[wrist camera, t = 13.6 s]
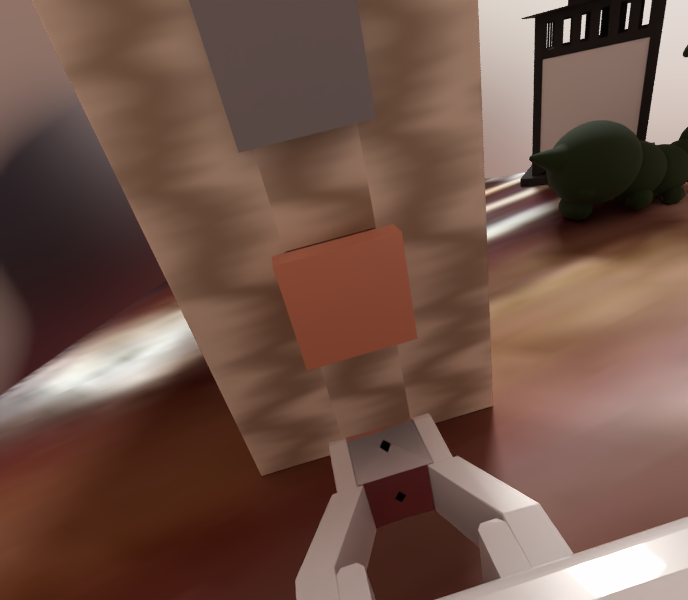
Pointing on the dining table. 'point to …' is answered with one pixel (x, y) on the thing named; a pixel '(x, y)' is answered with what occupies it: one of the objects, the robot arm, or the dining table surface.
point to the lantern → (593, 71)
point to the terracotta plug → (347, 295)
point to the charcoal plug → (286, 66)
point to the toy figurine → (613, 168)
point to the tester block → (301, 210)
